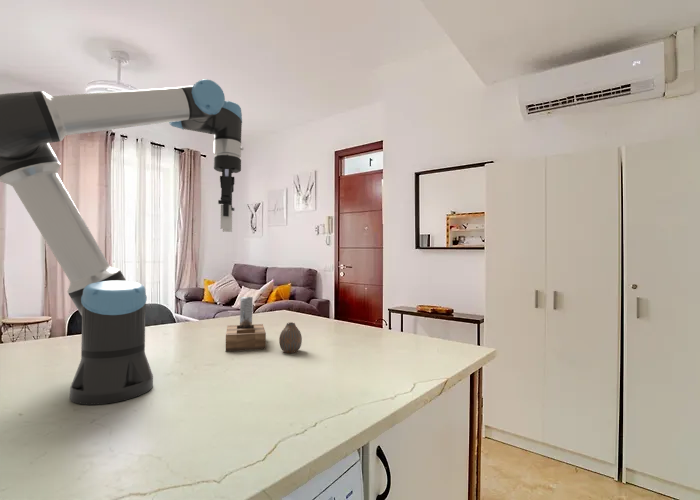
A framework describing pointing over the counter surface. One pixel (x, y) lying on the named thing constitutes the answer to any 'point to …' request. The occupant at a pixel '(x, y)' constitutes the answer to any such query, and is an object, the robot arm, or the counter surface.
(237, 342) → the bore block
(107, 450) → the counter surface
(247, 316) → the steel pin
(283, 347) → the vase
